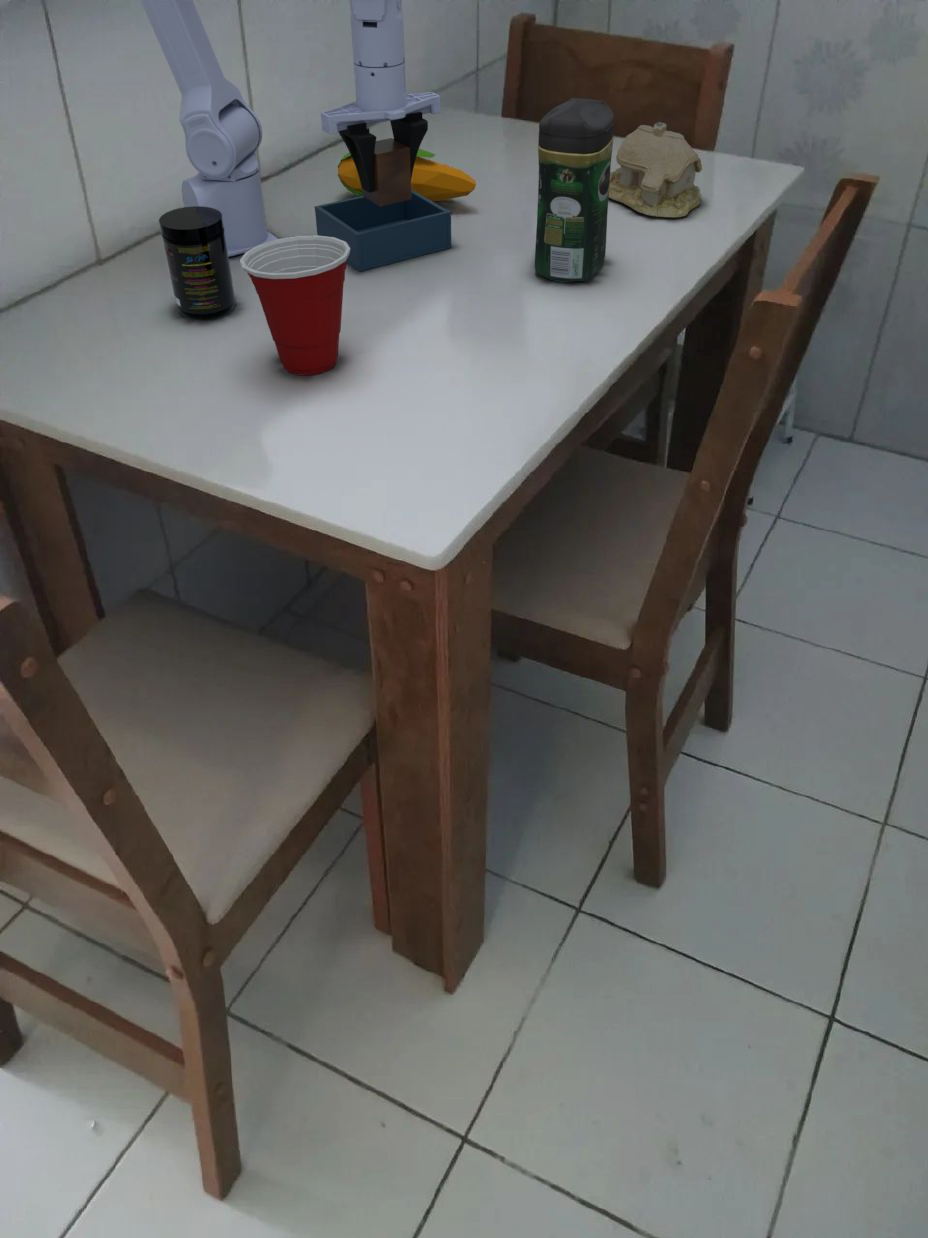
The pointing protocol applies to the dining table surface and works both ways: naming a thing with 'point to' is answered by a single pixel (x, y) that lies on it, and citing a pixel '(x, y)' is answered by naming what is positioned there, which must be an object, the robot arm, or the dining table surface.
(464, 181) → the corn
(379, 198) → the block
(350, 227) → the bin
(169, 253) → the supplement container
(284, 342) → the plastic cup
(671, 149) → the ceramic model
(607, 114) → the coffee jar
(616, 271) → the dining table surface
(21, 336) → the dining table surface
